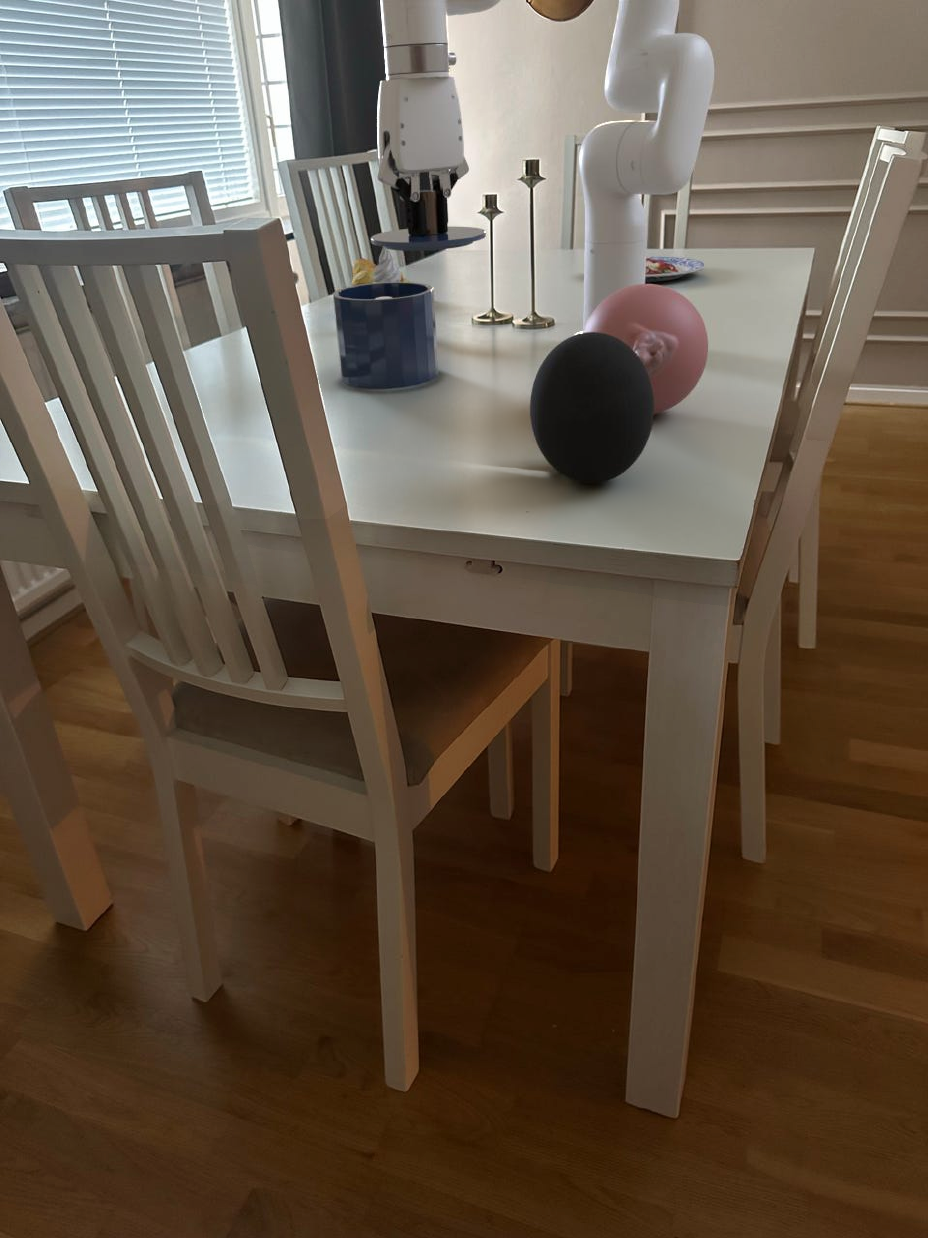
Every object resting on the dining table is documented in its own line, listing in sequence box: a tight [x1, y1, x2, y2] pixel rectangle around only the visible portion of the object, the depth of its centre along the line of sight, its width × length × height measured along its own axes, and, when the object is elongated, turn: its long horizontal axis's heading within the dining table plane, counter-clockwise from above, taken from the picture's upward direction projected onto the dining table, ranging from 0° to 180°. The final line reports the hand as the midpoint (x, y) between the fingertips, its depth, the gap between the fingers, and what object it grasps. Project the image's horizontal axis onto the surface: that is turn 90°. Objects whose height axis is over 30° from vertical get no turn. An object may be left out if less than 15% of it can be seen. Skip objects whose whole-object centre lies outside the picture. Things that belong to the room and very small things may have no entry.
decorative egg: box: [529, 332, 655, 484], centre depth 93 cm, size 12×12×15 cm
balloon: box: [582, 283, 709, 415], centre depth 111 cm, size 15×20×15 cm
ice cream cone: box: [373, 246, 402, 283], centre depth 162 cm, size 5×5×15 cm
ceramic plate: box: [645, 255, 706, 283], centre depth 203 cm, size 26×26×3 cm
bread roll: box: [350, 257, 410, 287], centre depth 190 cm, size 13×10×8 cm
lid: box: [370, 189, 487, 252], centre depth 116 cm, size 15×15×6 cm
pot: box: [332, 281, 439, 390], centre depth 133 cm, size 14×14×12 cm
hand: (428, 232), depth 117 cm, fingers closed on lid, 2 cm apart
